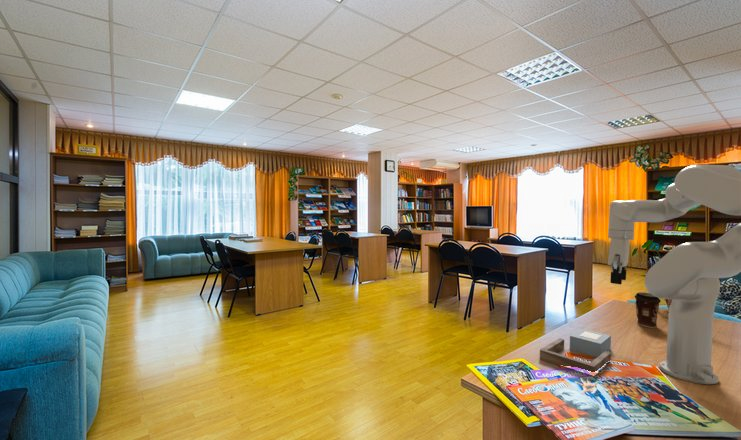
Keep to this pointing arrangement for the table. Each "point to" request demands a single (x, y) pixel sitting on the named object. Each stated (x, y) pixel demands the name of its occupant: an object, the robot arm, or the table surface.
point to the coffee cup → (647, 309)
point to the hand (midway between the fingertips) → (618, 281)
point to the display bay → (553, 357)
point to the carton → (590, 342)
